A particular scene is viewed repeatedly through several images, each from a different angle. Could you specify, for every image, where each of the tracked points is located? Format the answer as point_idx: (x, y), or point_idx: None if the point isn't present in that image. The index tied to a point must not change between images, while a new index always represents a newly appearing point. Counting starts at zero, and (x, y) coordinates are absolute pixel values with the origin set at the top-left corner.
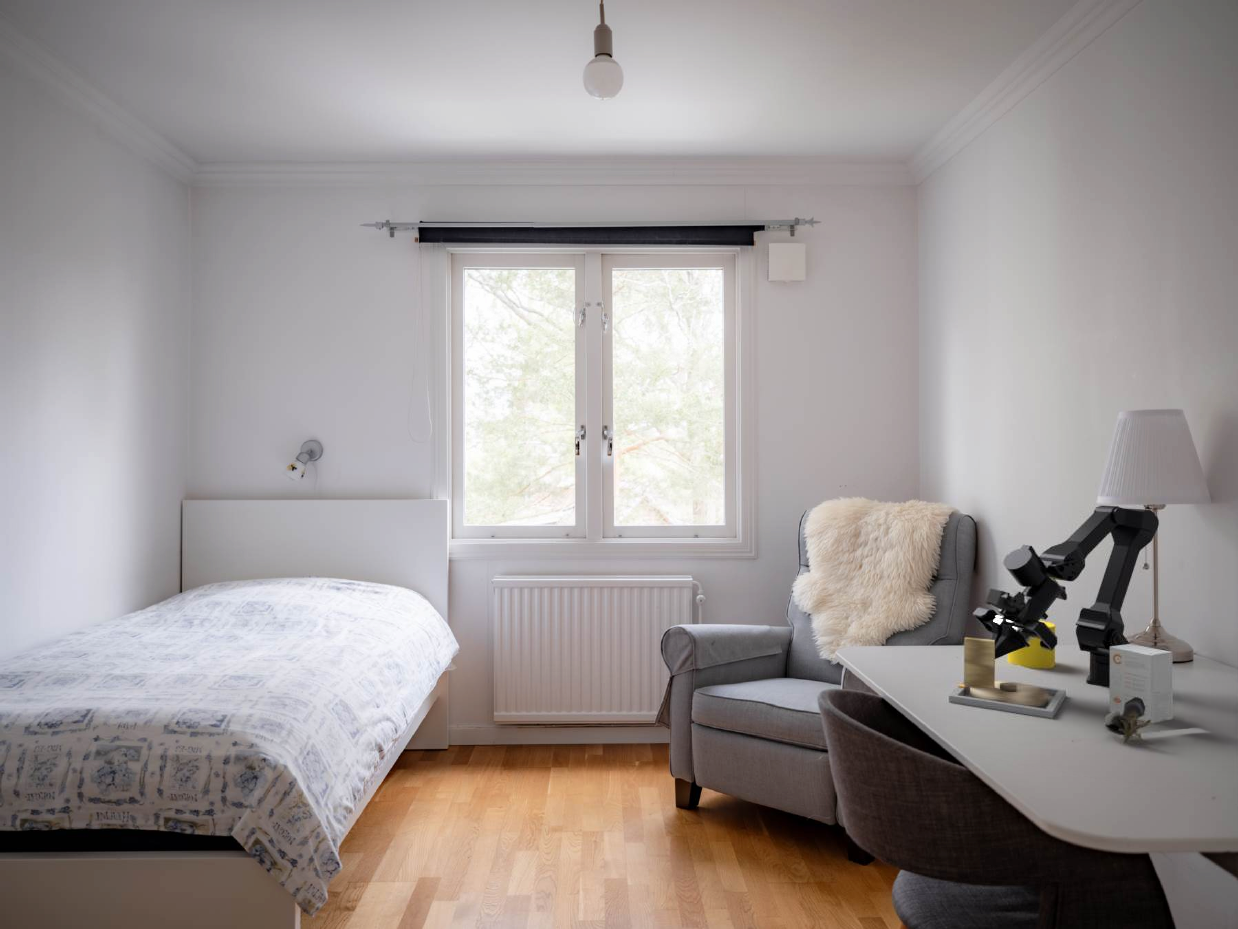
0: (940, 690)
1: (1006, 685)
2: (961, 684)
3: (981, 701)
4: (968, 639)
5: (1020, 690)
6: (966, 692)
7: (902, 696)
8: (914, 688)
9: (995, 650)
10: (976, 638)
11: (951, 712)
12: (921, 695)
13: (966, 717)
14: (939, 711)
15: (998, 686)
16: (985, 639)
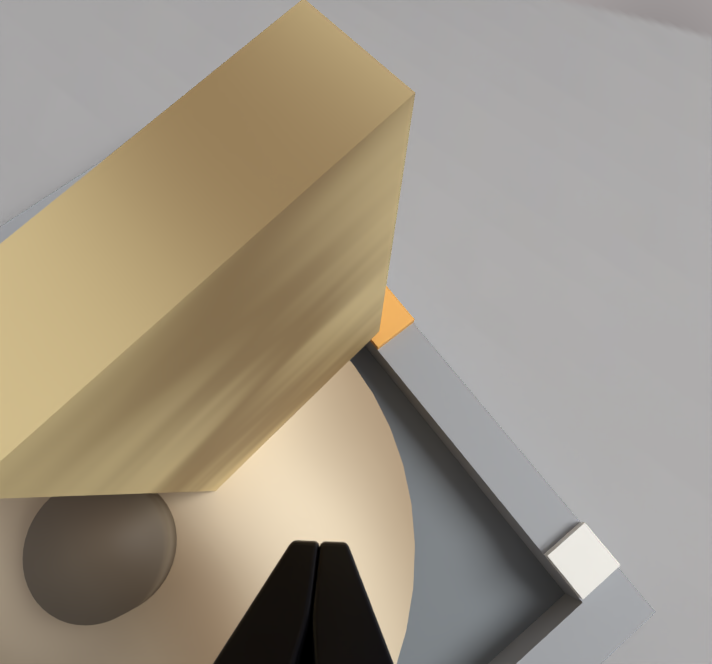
0: (552, 300)
1: (82, 515)
2: (401, 320)
3: (43, 204)
4: (247, 44)
5: (59, 644)
6: (374, 359)
7: (479, 13)
8: (629, 173)
9: (230, 650)
10: (248, 223)
11: (128, 69)
12: (472, 119)
13: (24, 84)
14: (167, 25)
15: (225, 544)
16: (99, 336)
